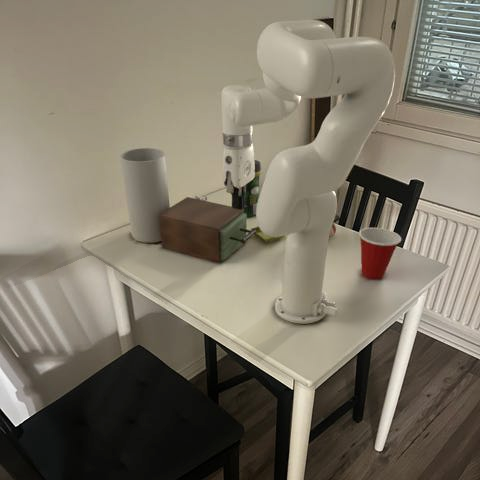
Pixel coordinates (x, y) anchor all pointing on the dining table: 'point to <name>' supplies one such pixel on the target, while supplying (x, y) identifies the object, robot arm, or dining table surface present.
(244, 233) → the drawer
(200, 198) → the soldier figure
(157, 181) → the cylinder vase
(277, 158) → the robot arm
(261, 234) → the green square tray
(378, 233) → the plastic cup
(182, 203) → the cabinet
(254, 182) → the coffee jar
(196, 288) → the dining table surface
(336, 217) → the figurine character
